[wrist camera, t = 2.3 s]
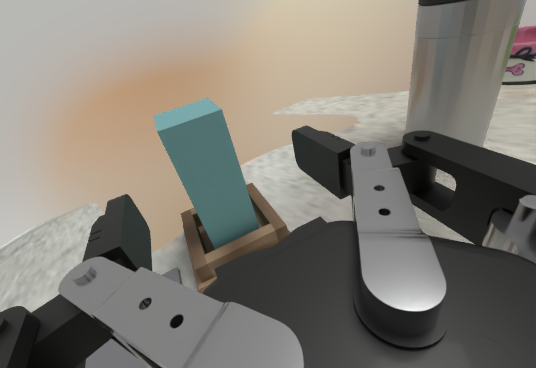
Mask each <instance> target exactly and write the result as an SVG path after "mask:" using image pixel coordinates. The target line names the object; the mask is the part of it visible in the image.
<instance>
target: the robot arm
mask: <svg viewBox="0 0 536 368" xmlns="http://www.w3.org/2000/svg"><path fill="white" fill-rule="evenodd" d="M525 3H526V0H419V3H418V4H419V6H418V13H417V22H416V32H415V43H414V53H413V63H412V73H411V82H410V92H409V102H408V111H407V120H406V130H405V135H404V136H403V140H402V146H398V147H394V148H389V149H387V148H386V147H385V146H384V145H383V144H380V143H376V142H363V143H359V144H356V145H355V144H353V143H351V142H349V141H347V140H344V139H342V138H340V137H338V136H335V135H333V134H331V133H328V132H324V131H318V130H315V129H313V128H311V127H309V126H303V127H301V128H298V129H296V130H293V131H292V141H293V147H294V153H295V158H296V162H297V164H298V166H299V168H300V169H301V170H302V171H304V172H305V173H306V174H308V175H309V176H310V177H312V178H313V179H314V180H316V181H317V182H318V183H320V184H321V185H322V186H323V187H325V188H326V189H327V190H329V191H330V192H331V193H333V194H334V195H335V196H337V197H338V198H339V199H343V198H345V197H347V196H349V195H351V196H352V212H353V221H334V222H329V223H327V222H326V221H325V220H323V219H322V218H321V217H318V218H316V219H314V220H312V221H310V222H308V223H306V224H304V225H302V226H300V227H298V228H296V229H295V230H294V231H292V232H291V233H290V234H289V235H287V236H286V237H285V238H284V239H282V240H281V241H280V242H279V243H277V244H276V245H275V246H273V247H270V248H266V249H262V250H259V251H255V252H251V253H248V254H244V255H241V256H239V257H237V258H235V259H233V260H231V261H229V262H227V263H225V264H223V265H221V266H219V267H217V268H215V269H214V270H215V273H216V276H217V279H215V280H214V281H213V282H212V283H211V284H210V285H209V286H208V287H207V288H206V289H205V290H204V291H203V292H202V293H199V292H197V291H195V290H193V289H190V288H188V287H186V286H184V285H181V284H179V283H177V282H175V281H172V280H170V279H168V278H166V277H164V276H161V275H159V274H157V273H155V272H152V258H151V239H150V230H149V227H148V225H147V223H146V221H145V219H144V218H143V216H142V215H141V213H140V212H139V210H138V208H137V207H136V205H135V204H134V202H133V201H132V199H131V197H130V196H129V195H127V194H125V195H123V196H120V197H117V198H115V199H112V200H110V201H108V203H107V207H106V212H105V215H102V216H100V217H99V218H98V219H97V221H96V222H95V223H94V224H93V226H92V229H91V232H90V236H89V240H88V242H89V243H87V247H86V251H85V254H84V258H83V262H82V263H80V264H79V265H77V266H76V267H74V268H73V269H72V270H71V271H70V272H69V273H68V274H67V275H66V276H65V277H64V278H63V280H62V281H61V283H60V285H59V290H58V291H59V293H60V294H59V295H58V296H56V297H55V298H53V299H52V300H50V301H49V302H47V303H46V304H44V305H43V306H41V307H40V308H38V309H37V310H35V311H33V312H32V313H31V312H29V311H28V310H27V309H25V308H24V307H22V306H16V307H12V308H9V309H7V310H4V311H2V312H0V368H85V364H86V359H87V358H88V357H89V356H90V355H92V354H93V353H94V352H95V351H97V350H98V349H99V348H100V347H101V346H103V345H104V344H105V343H106V342H108V341H109V340H110V339H111V340H112V341H114V342H115V343H116V344H118V345H119V346H120V347H122V348H123V349H124V350H125V351H127V352H128V353H129V354H131V355H132V356H133V357H135V358H136V359H137V360H139V361H140V362H141V363H143V364H144V365H145V366H147V367H148V368H536V165H534V164H531V163H528V162H525V161H522V160H519V159H516V158H513V157H510V156H507V155H504V154H501V153H497V152H494V151H491V150H488V149H485V148H482V146H483V143H484V140H485V137H486V133H487V130H488V127H489V124H490V120H491V118H492V114H493V111H494V108H495V104H496V101H497V97H498V94H499V91H500V87H501V84H502V81H503V77H504V74H505V71H506V67H507V64H508V61H509V57H510V54H511V51H512V47H513V44H514V40H515V37H516V34H517V30H518V27H519V24H520V20H521V16H522V13H523V10H524V6H525ZM437 169H440V170H442V171H444V172H446V173H448V174H450V175H452V176H453V178H454V179H455V181H456V190H455V191H453V190H451V189H449V188H447V187H445V186H443V185H441V184H439V183H437V182H435V176H436V171H437ZM412 204H413V205H415V206H416V207H418V208H419V209H421V210H422V211H424V212H426V213H427V214H429V215H430V216H432V217H433V218H435V219H437V220H438V221H440V222H441V223H443V224H444V225H446V226H447V227H449V228H451V229H452V230H454V231H455V232H457V233H458V234H460V235H462V236H463V237H465V238H466V239H468V240H469V241H471V242H473V243H474V244H470V243H465V242H459V241H454V240H449V239H444V238H439V237H434V236H429V235H427V234H425V233H423V232H422V230H421V228H420V225H419V222H418V219H417V217H416V214H415V211H414V208H413V205H412ZM475 244H476V245H475Z"/></svg>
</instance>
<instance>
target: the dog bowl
mask: <svg viewBox="0 0 536 368" xmlns="http://www.w3.org/2000/svg"><path fill="white" fill-rule="evenodd" d="M524 84H536V26H526V27H519V28H518V30H517V34H516V37H515V40H514V44H513V47H512V51H511V54H510V57H509V61H508V64H507V67H506V71H505V74H504V77H503V81H502V84H501V85H524Z"/></svg>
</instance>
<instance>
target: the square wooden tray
mask: <svg viewBox="0 0 536 368" xmlns="http://www.w3.org/2000/svg"><path fill="white" fill-rule="evenodd" d="M246 187H247V190H248V193H249V196H250V200H251V203H252V206H253V209H254V212H255V215H256V218H257V221H258V225H259V229H257V230H255V231H253V232H251V233H249V234H247V235H245V236H243V237H241V238H239V239H237V240H234V241H232V242H230V243H228V244H226V245H224V246H222V247H220V248H218V249H216V250H215V249H214V246H213V244H212V242H211V240H210V238H209V236H208V234H207V232H206V230H205V228H204V226H203V224H202V222H201V220H200V218H199V216H198V214H197V212H196V210H195V208H192V209H190V210H188V211H185V212H183V213H181V217H182V221H183V228H184V232H185V236H186V241H187V245H188V249H189V253H190V257H191V261H192V265H193V270H194V274H195V278H196V282H197V286H198V290H199V292H200V293H202V292H203V291H204V290H205V289H206V288H207V287H208V286H209V285H210V284H211V283H212V282H213V281H214V280H215V279H217V276H216V273H215V270H214V269H215V268H217V267H219V266H221V265H223V264H225V263H227V262H229V261H231V260H233V259H235V258H237V257H239V256H241V255H244V254H248V253H251V252H255V251H259V250H262V249H266V248H270V247H273V246H275V245H276V244H277V243H279V242H280V241H281V240H282V239H284V238H285V237H286V236H287V235H289V234H290V232H289V230H288V229H287V227H286V224H285V223H284V222H283V221H282V219H281V218H280V217H279V216H278V214H277V213H276V212H275V211H274V209H273V208H272V207H271V206H270V204H269V203H268V202H267V201H266V199H265V198H264V197H263V196H262V194H261V193H260V192H259V191H258V190H257V188H256V187H255V186H254V185H253V183H250V184H248V185H246Z"/></svg>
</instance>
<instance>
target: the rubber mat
mask: <svg viewBox="0 0 536 368" xmlns="http://www.w3.org/2000/svg"><path fill="white" fill-rule="evenodd" d="M161 276H164V277H166V278H168V279H170V280H172V281H175V282H177V283H179V284H181V285H182V282H181V276H180V271H179V269H178V268H175V269H173V270H171V271H169V272H167V273H165V274H163V275H161ZM85 368H148V367H147V366H145V365H144V364H143V363H141V362H140V361H139V360H137V359H136V358H135V357H133V356H132V355H131V354H129V353H128V352H127V351H125V350H124V349H123V348H122V347H120V346H119V345H118V344H116V343H115V342H114V341H112V340H111V339H110V340H109V341H108V342H106V343H105V344H104V345H103V346H101V347H100V348H99V349H98V350H97V351H95V352H94V353H93V354H92V355H90V356H89V357H88V358H87V359H86V364H85Z"/></svg>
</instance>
